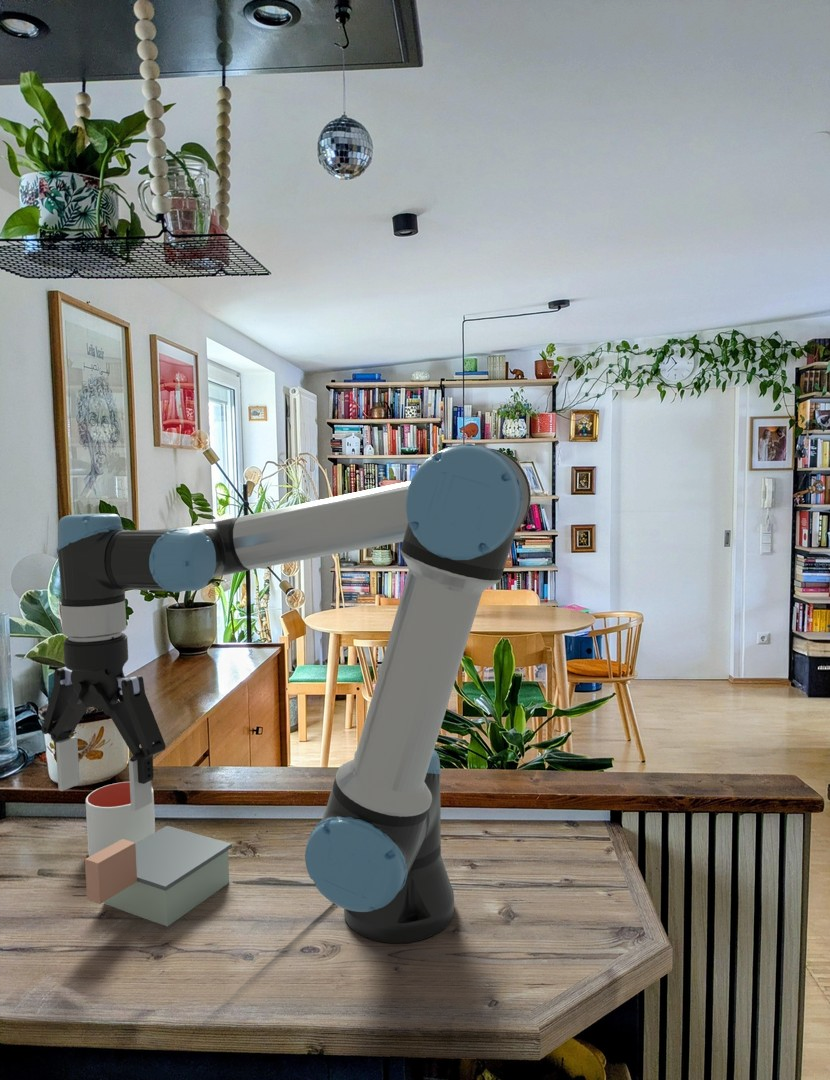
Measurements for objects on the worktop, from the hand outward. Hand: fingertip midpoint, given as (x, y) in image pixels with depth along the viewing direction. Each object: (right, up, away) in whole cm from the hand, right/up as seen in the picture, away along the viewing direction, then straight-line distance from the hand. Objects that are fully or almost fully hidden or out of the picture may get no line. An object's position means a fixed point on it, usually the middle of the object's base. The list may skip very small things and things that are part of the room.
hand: (104, 796), depth 98 cm
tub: (+5, -18, +10) cm, 21 cm away
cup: (-6, -17, +23) cm, 29 cm away
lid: (+4, -13, +7) cm, 15 cm away
